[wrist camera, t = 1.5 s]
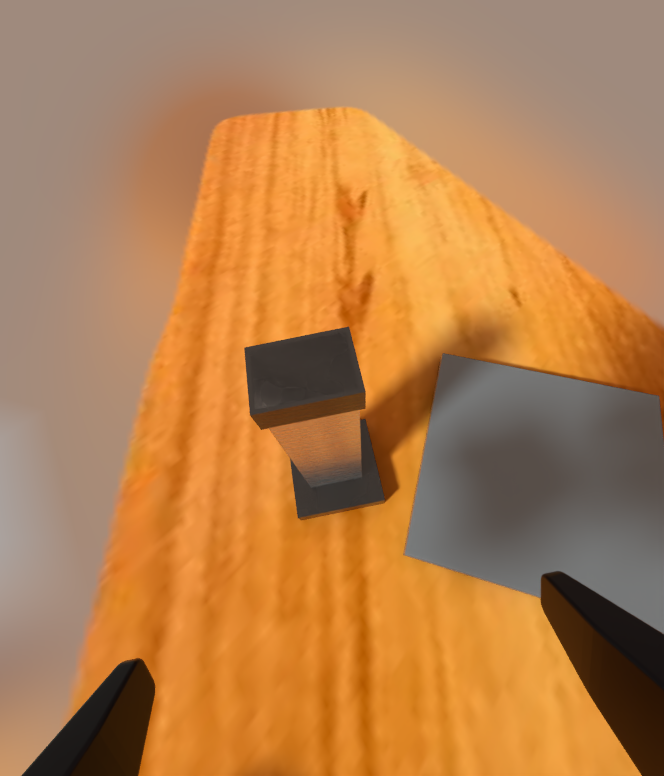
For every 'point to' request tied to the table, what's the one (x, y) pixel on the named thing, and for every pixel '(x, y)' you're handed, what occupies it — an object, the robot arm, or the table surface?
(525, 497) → the plate
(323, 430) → the tray topped pillar
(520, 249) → the table surface
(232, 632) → the table surface
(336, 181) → the table surface
